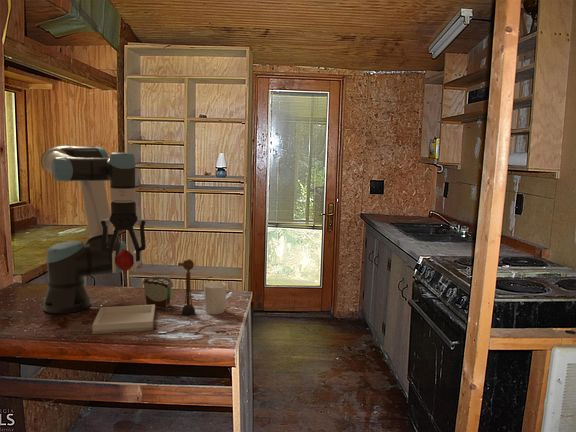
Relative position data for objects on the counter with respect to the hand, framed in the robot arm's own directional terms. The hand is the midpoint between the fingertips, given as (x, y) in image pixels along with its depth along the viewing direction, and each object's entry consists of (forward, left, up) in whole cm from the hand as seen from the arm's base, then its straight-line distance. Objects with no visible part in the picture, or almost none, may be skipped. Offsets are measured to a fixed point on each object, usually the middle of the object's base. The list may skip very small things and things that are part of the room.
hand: (124, 271), depth 146 cm
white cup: (+30, +6, -18) cm, 35 cm away
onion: (0, 0, 0) cm, 1 cm away
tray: (0, 0, -18) cm, 18 cm away
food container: (+11, +16, -18) cm, 26 cm away
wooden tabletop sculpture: (+20, +5, -18) cm, 27 cm away
